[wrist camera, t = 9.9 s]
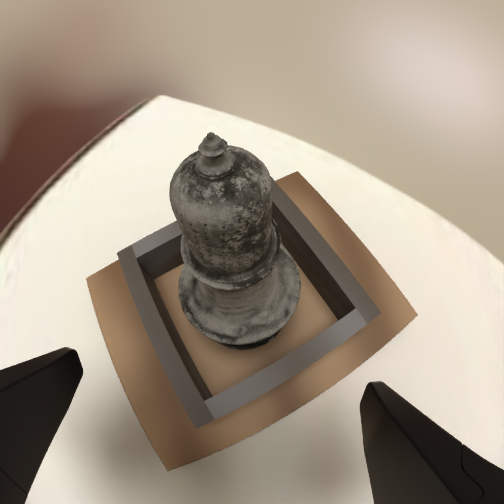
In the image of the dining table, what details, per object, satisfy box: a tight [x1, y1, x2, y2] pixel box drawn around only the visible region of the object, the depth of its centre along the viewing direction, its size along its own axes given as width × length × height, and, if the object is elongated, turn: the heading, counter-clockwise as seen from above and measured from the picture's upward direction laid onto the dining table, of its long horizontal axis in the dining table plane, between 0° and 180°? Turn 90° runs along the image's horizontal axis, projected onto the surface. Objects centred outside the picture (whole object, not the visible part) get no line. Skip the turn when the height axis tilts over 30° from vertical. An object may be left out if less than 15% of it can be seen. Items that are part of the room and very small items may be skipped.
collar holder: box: [86, 171, 418, 471], centre depth 16 cm, size 18×14×4 cm
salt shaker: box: [169, 132, 301, 350], centre depth 11 cm, size 6×6×12 cm
